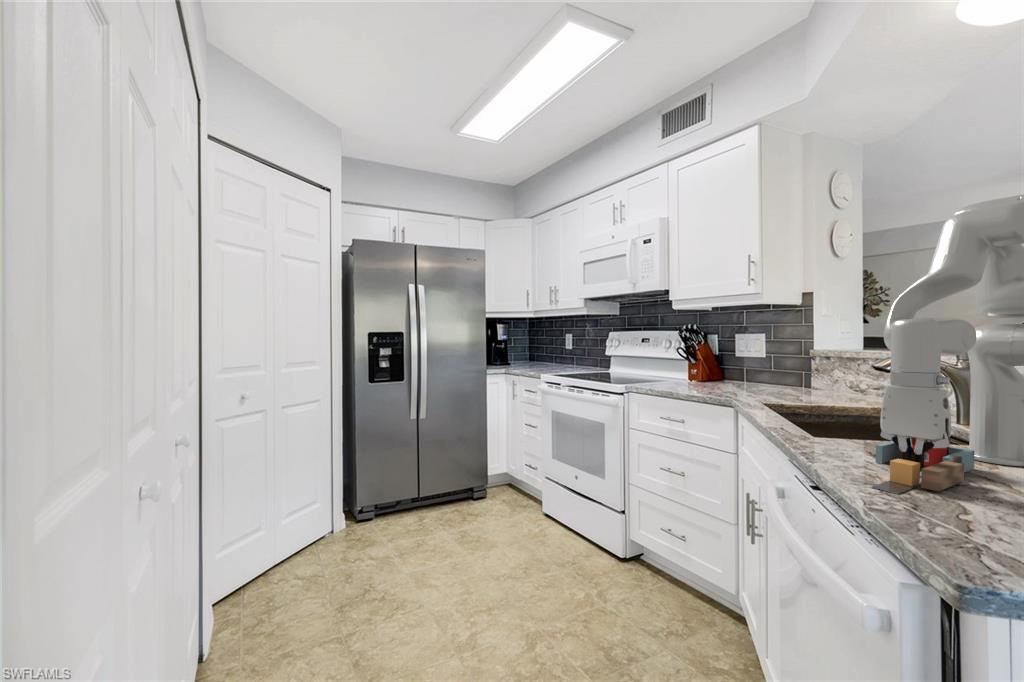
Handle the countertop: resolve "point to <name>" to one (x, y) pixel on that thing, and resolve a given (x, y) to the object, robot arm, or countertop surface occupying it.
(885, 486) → the grey flat plate
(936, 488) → the bar
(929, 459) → the canned food
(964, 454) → the keeper bay
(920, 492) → the countertop surface
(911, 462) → the orange cube
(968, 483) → the hinge base
